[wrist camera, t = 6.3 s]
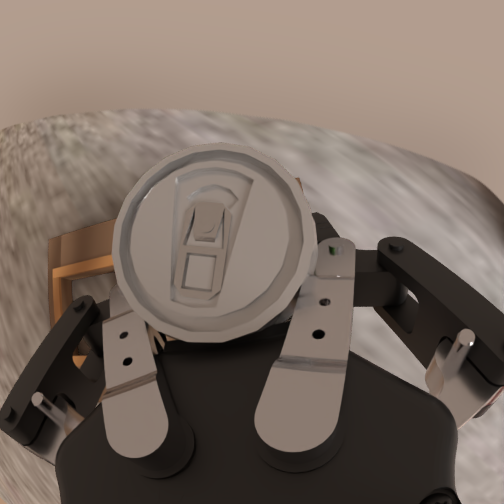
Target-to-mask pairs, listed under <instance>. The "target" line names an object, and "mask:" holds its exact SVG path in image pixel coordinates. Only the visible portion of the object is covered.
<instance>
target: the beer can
mask: <svg viewBox="0 0 504 504" xmlns="http://www.w3.org/2000/svg"><path fill="white" fill-rule="evenodd" d="M317 258H318V245H317V235H316V226H315V221H314V219H313V217H312V214H311V208H310V206H309V204H308V202H307V200H306V198H305V196H304V194H303V192H302V189H301V187H300V185H299V183H298V181H297V180H296V179H295V178H294V177H293V176H292V175H291V174H290V173H289V172H288V171H287V170H286V169H285V168H284V167H283V166H282V165H281V164H280V163H279V162H278V161H277V160H275V159H273V158H271V157H269V156H267V155H265V154H263V153H261V152H259V151H257V150H255V149H253V148H251V147H247V146H241V145H235V144H229V143H222V142H220V143H212V144H204V145H196V146H191V147H189V148H186V149H184V150H182V151H179V152H177V153H174V154H172V155H170V156H167V157H165V158H164V159H163V160H161V161H160V162H159V163H158V164H156V165H155V166H154V167H152V168H151V169H150V170H148V171H147V172H146V173H145V174H143V175H142V177H141V178H140V179H139V181H138V182H137V183H136V184H135V186H134V187H133V188H132V190H131V191H130V192H129V194H128V195H127V196H126V198H125V200H124V202H123V205H122V207H121V210H120V212H119V215H118V217H117V220H116V222H115V225H114V233H113V243H112V260H113V265H114V270H115V274H116V279H117V284H118V285H119V287H120V289H121V291H122V293H123V294H124V296H125V298H126V299H127V301H128V303H129V305H130V306H131V308H132V310H133V311H134V312H136V313H137V314H138V315H139V316H140V317H141V318H142V319H144V320H145V321H146V322H147V323H148V324H149V325H151V326H152V327H153V328H154V329H155V330H157V331H159V332H162V333H164V334H165V335H167V336H168V337H169V338H172V339H174V340H183V341H186V342H195V343H204V342H228V341H231V340H235V339H238V338H242V337H245V336H249V335H252V334H255V333H259V332H261V331H263V330H265V329H267V328H269V327H270V326H272V325H274V324H279V323H283V322H285V321H286V320H287V319H288V318H290V317H291V316H292V315H293V313H294V310H295V306H296V303H297V300H298V296H299V293H300V289H301V286H302V284H303V283H304V282H305V281H306V280H307V278H308V277H309V276H310V275H314V271H315V267H316V262H317Z"/></svg>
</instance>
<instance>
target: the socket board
mask: <svg viewBox="0 0 504 504" xmlns="http://www.w3.org/2000/svg"><path fill="white" fill-rule="evenodd" d="M295 179H296V180H297V181H298V183H299V185H300V187H301V189H302V186H301V182H300V179H299V178H295ZM302 192H303V189H302ZM303 194H304V193H303ZM116 220H117V218H116V219H112V220H109V221H106V222H102V223H99V224H96V225H92V226H89V227H86V228H83V229H79V230H76V231H73V232H70V233H67V234H64V235H61V236H58V237H55V238H52V239H49V249H48V294H49V312H50V324H51V329H52V328H53V327H54V325H55V324H56V322H57V321H58V320H59V318H60V317H61V316H62V314H63V313H64V312H65V311H66V309H67V308H68V307H69V305H70V304H71V303H72V302H73V299H72V280H76V279H81V278H86V277H90V276H95V275H100V274H105V273H110V272H115V270H114V265H113V260H112V243H113V233H114V225H115V222H116ZM168 338H169V337H168ZM172 340H174V339H172V338H169V341H172ZM86 357H87V355H79V354H78V347H76V349H75V350H74V352H73V361H74V363H75V365H76V366H77V367H78V368H79V369H80V367H81V365H82V364H83V362H84V360H85V359H86ZM105 393H106V386H105V388H104V390H103V392H102V395H101V397H100V399H99V401H98V402H100V403H101V402H102V396H103V394H105Z"/></svg>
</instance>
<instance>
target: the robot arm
mask: <svg viewBox="0 0 504 504" xmlns="http://www.w3.org/2000/svg"><path fill="white" fill-rule="evenodd" d="M311 214H312V217H313V219H314V221H315V226H316V235H317V245H318V258H317V262H316V267H315V271H314V275H310V276H309V277H308V278H307V280H306V281H305V282H304V283H303V284H302V286H301V289H300V293H299V296H298V300H297V303H296V306H295V310H294V313H293V316H292V320H291V323H290V321H289V322H284V323H279V324H274V325H272V326H270V327H269V328H267V329H265V330H263V331H261V332H259V333H255V334H252V335H249V336H245V337H242V338H238V339H235V340H231V341H228V342H204V343H195V342H186V341H183V340H172V341H169V338H168V336H167V335H165V334H164V333H162V332H159V331H157V330H155V329H154V328H153V327H152V326H151V325H149V324H148V323H147V322H146V321H145V320H144V319H142V318H141V317H140V316H139V315H138V314H137V313H136V312H134V311H133V310H132V308H131V306H130V305H129V303H128V301H127V299H126V298H125V296H124V294H123V293H122V291H121V289H120V287H119V285H118V284H116V285H115V286H114V287H113V288H112V289H111V291H110V299H108V300H105V301H103V302H100V303H98V304H96V303H95V301H94V299H93V298H92V297H91V296H88V295H86V296H82V297H80V298H78V299H76V300H75V301H73V302H72V303H71V304H70V305H69V307H68V308H67V309H66V311H65V312H64V313H63V314H62V316H61V317H60V318H59V320H58V321H57V322H56V324H55V325H54V327H53V328H52V329H51V331H50V332H49V333H48V335H47V336H46V338H45V339H44V340H43V342H42V343H41V345H40V346H39V348H38V349H37V351H36V352H35V354H34V355H33V357H32V358H31V360H30V361H29V363H28V364H27V366H26V367H25V369H24V371H23V372H22V374H21V375H20V377H19V379H18V380H17V382H16V384H15V385H14V387H13V389H12V390H11V392H10V394H9V395H8V397H7V399H6V401H5V403H4V404H3V406H2V408H1V410H0V429H1V430H2V431H4V432H5V433H6V434H7V435H9V436H10V437H11V438H13V439H14V440H15V441H17V442H18V444H20V445H21V446H22V447H24V448H25V449H27V450H28V451H30V452H31V453H33V454H34V455H36V456H37V457H39V458H40V459H43V460H45V461H47V462H49V463H50V464H52V465H54V466H55V472H56V477H57V481H58V485H59V490H60V497H61V504H461V502H460V500H459V498H458V495H457V492H456V488H455V475H454V474H455V457H456V450H457V443H458V430H459V429H460V428H461V427H462V426H464V425H465V424H466V423H467V422H468V421H469V420H470V419H471V418H477V417H480V416H482V415H483V414H484V413H485V412H486V411H487V410H488V409H489V408H490V407H491V406H492V405H493V404H494V402H495V401H496V400H497V399H498V398H499V397H500V396H501V394H502V393H503V392H504V314H503V313H502V312H501V311H500V310H499V309H497V308H496V307H495V306H494V305H493V304H492V303H490V302H489V301H488V300H487V299H486V298H485V297H483V296H482V295H481V294H480V293H479V292H477V291H476V290H475V289H474V288H472V287H471V286H470V285H469V284H467V283H466V282H465V281H464V280H462V279H461V278H460V277H459V276H457V275H456V274H455V273H453V272H452V271H451V270H449V269H448V268H447V267H445V266H444V265H443V264H441V263H440V262H439V261H437V260H436V259H435V258H433V257H432V256H430V255H429V254H428V253H426V252H425V251H423V250H422V249H420V248H419V247H418V246H416V245H415V244H413V243H412V242H410V241H409V240H407V239H405V238H401V237H387V238H384V239H382V240H380V241H379V243H378V247H377V250H358V249H355V244H354V243H353V242H352V241H350V240H348V239H345V238H340V236H339V235H338V234H337V232H336V231H335V229H334V228H333V227H332V225H331V224H330V223H329V221H328V220H327V218H326V217H325V216H324V215H322V214H319V213H317V212H316V213H311ZM408 289H409V290H410V291H411V292H412V293H413V294H414V295H415V296H416V298H417V300H418V303H419V304H418V303H417V302H416V301H415V300H414V299H413V298H412V297H411V296H410V295H409V294H408ZM353 307H373V308H374V310H375V311H376V312H377V313H378V314H379V316H380V317H381V318H382V319H383V320H384V321H385V322H386V323H387V324H388V326H389V327H390V328H391V329H392V330H393V331H394V332H395V333H396V335H397V336H398V337H399V338H400V339H401V340H402V341H403V343H404V344H405V345H406V346H407V347H408V348H409V350H410V351H411V352H412V353H413V354H414V355H415V357H416V358H417V359H418V360H419V361H420V363H421V364H422V365H423V366H424V367H425V368H426V370H427V371H426V374H425V381H426V385H427V387H428V388H429V392H430V394H429V393H427V392H425V391H423V390H421V389H419V388H418V387H416V386H414V385H412V384H410V383H408V382H406V381H404V380H402V379H401V378H399V377H397V376H395V375H393V374H391V373H389V372H388V371H386V370H384V369H382V368H380V367H379V366H377V365H375V364H373V363H371V362H370V361H368V360H366V359H364V358H362V357H361V356H359V355H357V354H355V353H354V352H352V351H350V342H351V331H352V320H353ZM82 338H83V339H84V340H85V342H86V343H87V344H88V346H89V347H90V348H91V350H90V352H89V354H88V355H87V357H86V359H85V360H84V362H83V364H82V365H81V367H80V369H79V368H78V367H77V366H76V365H75V363H74V361H73V352H74V350H75V349H76V347H77V345H78V344H79V342H80V341H81V339H82ZM105 386H106V393H105V394H103V396H102V402H101V403H100V404H99V405H98V406H97V407H96V405H97V403H98V401H99V399H100V397H101V395H102V392H103V390H104V388H105ZM95 407H96V408H95Z"/></svg>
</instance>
